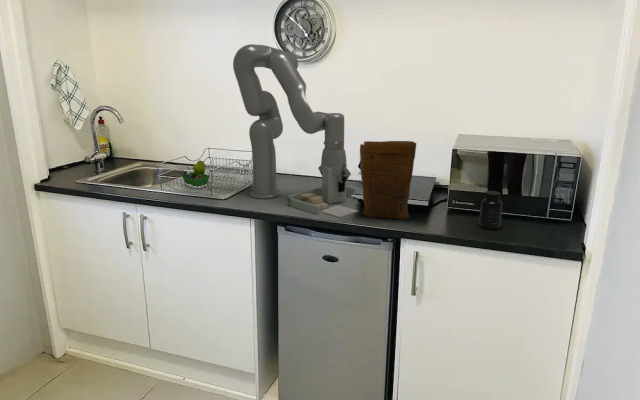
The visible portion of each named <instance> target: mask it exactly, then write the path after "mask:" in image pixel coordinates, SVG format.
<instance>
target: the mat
mask: <svg viewBox="0 0 640 400" xmlns="http://www.w3.org/2000/svg"><path fill="white" fill-rule="evenodd" d="M320 213H323V214H327V215H329V216H333V217H336V218H339V219H341V218H344V217H348V216H350V215H352V214H355V213H359V210H358V209H354V208H350V207H346V206H343V205H334V206H331V207H329V208H328V209H325V210H321V211H320Z"/></svg>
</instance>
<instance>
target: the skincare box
mask: <svg viewBox="0 0 640 400" xmlns="http://www.w3.org/2000/svg"><path fill="white" fill-rule="evenodd" d="M342 171H343V170H342ZM343 172H344V171H343ZM344 173H345V172H344ZM345 175H346V174H345ZM341 178H342V176H341ZM339 182H340V181H339V179H338V176H334V175H333V168H332V167H328V166H323V165H322V175H321V185H322V186H321V187H322V197H323V203H327V204H328V205H331V204H337V203H344V202H347V196H346V186H347V181H346V182H345V191H344V192H338V183H339Z"/></svg>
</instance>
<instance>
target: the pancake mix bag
mask: <svg viewBox="0 0 640 400" xmlns="http://www.w3.org/2000/svg"><path fill="white" fill-rule="evenodd" d="M416 149H417V142H414V141H412V140H386V141H385V140H384V141H375V140H374V141H372V140H371V141H368V140H367V141H365V140H364V141H363V144H362V143H361V144H360V145H359V157H360V160H359V161H360V162H359V163H360V165H359V166H360V177H361V179H360V180H361V185H362V186H361V187H362V188H361V189H363V199H364V200H363V204H364V208H363V213H362V214H363V215H364V216H366V217H368V218H369V217H370V218H378V219H392V220H405V219H408V218H410V216H409V211H408V210H409V209H408V208H409V207H408V203H409V198H410V191H411V190H410V189H411V182H412V177H413V171H414V165H415V159H416V151H417V150H416Z"/></svg>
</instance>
